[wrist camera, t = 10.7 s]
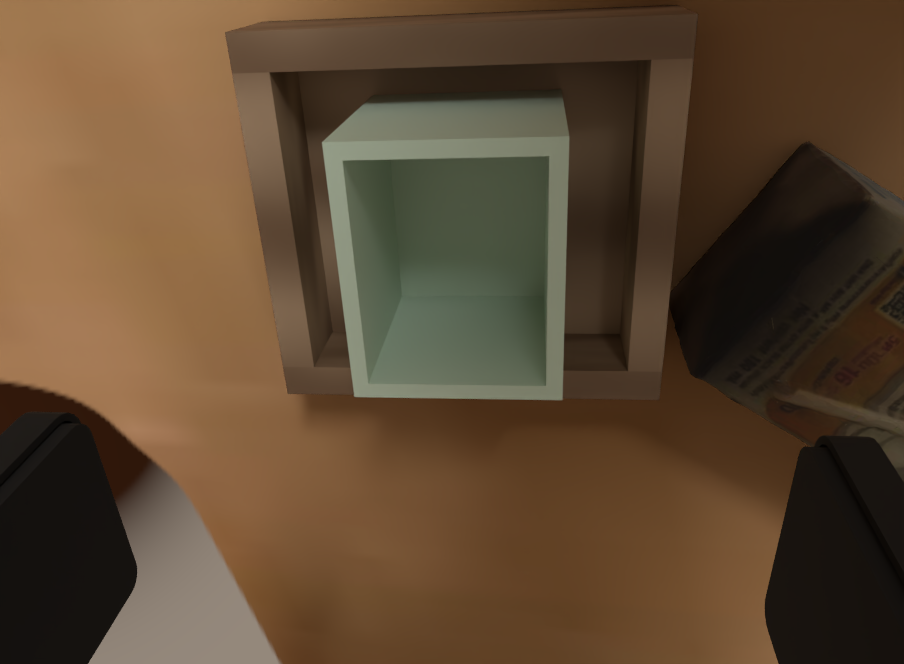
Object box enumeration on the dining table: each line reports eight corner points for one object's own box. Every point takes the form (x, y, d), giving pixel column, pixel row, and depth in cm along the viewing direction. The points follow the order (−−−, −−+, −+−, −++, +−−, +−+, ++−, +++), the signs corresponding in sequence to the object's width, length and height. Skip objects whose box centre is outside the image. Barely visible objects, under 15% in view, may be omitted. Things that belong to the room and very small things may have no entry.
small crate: (373, 95, 26) (321, 142, 20) (561, 89, 25) (569, 136, 19) (392, 302, 29) (354, 396, 23) (556, 302, 29) (562, 400, 23)
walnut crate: (262, 21, 26) (225, 32, 22) (677, 4, 24) (698, 14, 21) (312, 349, 32) (287, 393, 28) (646, 353, 30) (659, 399, 27)
